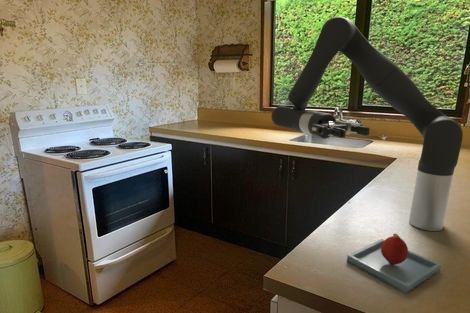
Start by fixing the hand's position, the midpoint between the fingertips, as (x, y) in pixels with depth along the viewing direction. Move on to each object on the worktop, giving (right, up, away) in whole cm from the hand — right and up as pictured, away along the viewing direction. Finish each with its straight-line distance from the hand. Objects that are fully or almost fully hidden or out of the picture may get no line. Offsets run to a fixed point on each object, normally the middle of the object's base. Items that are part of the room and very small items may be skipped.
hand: (356, 132), depth 91 cm
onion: (+5, -32, -9) cm, 34 cm away
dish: (+5, -33, -9) cm, 34 cm away
